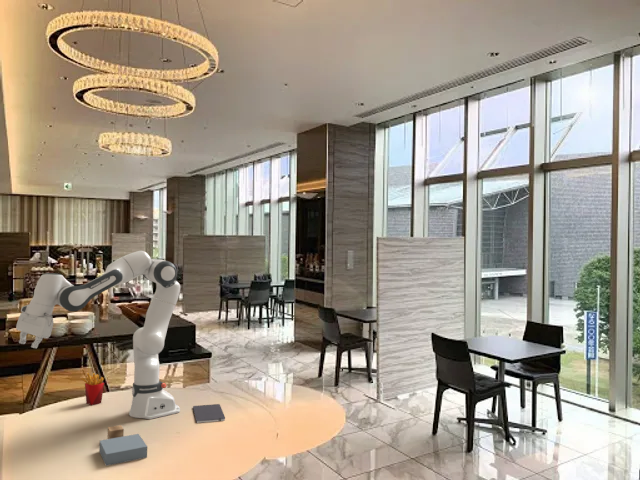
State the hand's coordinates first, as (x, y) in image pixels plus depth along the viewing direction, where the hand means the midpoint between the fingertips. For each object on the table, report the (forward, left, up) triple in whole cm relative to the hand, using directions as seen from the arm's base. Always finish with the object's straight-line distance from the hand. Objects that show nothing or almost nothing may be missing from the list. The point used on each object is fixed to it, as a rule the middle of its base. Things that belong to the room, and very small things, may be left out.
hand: (27, 345), depth 191 cm
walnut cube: (-30, +19, -37) cm, 51 cm away
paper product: (-73, +7, -37) cm, 83 cm away
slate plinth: (-30, +34, -37) cm, 58 cm away
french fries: (-29, -33, -37) cm, 58 cm away
